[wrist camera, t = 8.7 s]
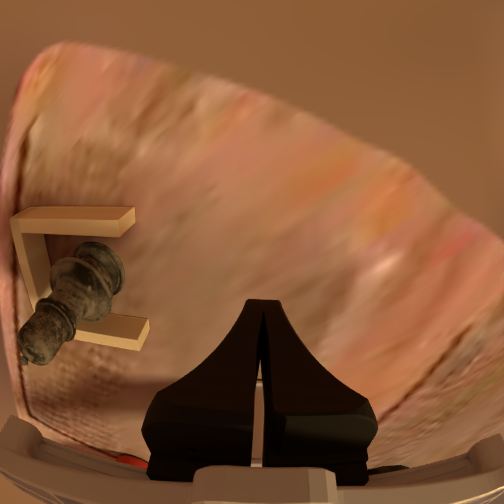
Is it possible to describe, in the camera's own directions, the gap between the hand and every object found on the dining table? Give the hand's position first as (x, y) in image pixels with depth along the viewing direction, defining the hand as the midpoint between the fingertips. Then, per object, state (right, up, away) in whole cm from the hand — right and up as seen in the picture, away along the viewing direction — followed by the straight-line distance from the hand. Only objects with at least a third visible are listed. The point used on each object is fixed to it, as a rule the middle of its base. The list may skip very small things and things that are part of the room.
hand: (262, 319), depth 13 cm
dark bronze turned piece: (-14, +1, +12) cm, 18 cm away
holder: (-15, +1, +12) cm, 19 cm away
